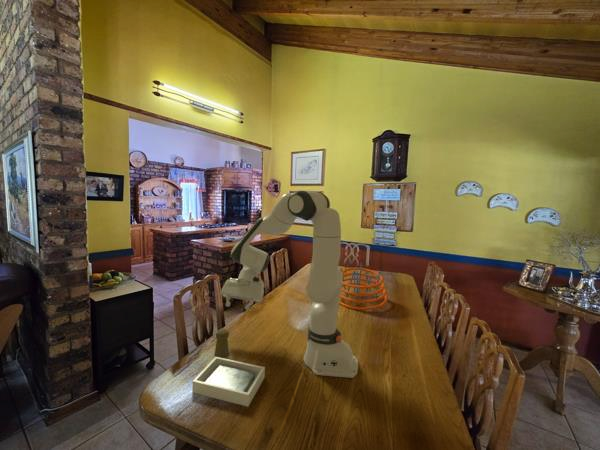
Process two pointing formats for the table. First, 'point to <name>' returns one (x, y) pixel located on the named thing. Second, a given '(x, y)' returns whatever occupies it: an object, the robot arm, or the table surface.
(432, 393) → the table surface
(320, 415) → the table surface
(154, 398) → the table surface
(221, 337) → the cork
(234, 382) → the tin box
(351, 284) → the toy basket
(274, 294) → the table surface
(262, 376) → the tote
